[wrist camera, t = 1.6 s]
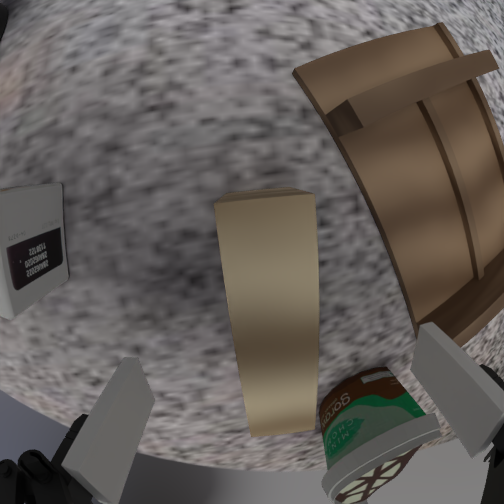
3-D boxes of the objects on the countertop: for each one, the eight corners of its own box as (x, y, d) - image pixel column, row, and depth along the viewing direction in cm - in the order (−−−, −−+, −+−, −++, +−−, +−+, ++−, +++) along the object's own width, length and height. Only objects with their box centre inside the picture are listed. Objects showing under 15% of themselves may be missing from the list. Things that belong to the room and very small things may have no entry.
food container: (333, 350, 21) (375, 446, 11) (393, 353, 21) (446, 431, 11) (291, 439, 24) (303, 518, 14) (343, 438, 24) (365, 508, 15)
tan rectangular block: (224, 193, 17) (209, 204, 11) (291, 186, 17) (318, 193, 11) (248, 370, 21) (248, 436, 14) (300, 365, 21) (317, 429, 14)
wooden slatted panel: (292, 73, 15) (307, 41, 10) (432, 29, 13) (463, 9, 9) (420, 355, 21) (446, 386, 17) (514, 272, 20) (543, 288, 15)
